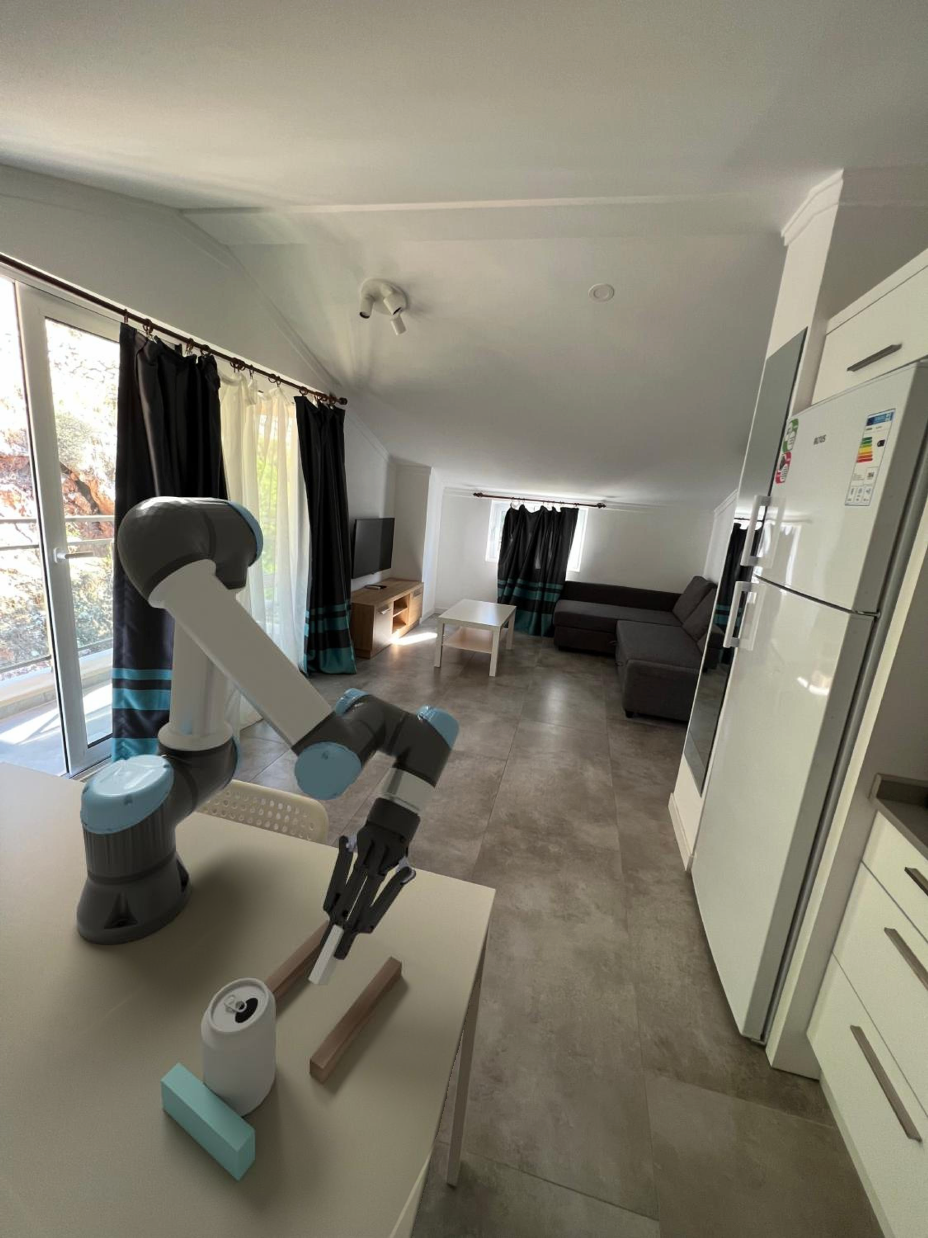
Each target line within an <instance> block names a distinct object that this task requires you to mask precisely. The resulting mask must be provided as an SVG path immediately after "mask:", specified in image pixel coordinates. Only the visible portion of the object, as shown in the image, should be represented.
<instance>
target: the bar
mask: <svg viewBox="0 0 928 1238" xmlns="http://www.w3.org/2000/svg"><path fill="white" fill-rule="evenodd" d="M160 1087H161V1101H162V1102H161V1103H162V1104H161V1105H162V1109H163V1110H164V1111H165V1112H166V1113H167V1114H168V1115H169V1116H170V1117H171V1118H172V1119H173V1120H174V1121H175V1122H177V1124H178V1125H179V1126H180V1127H182V1129H183V1130H185V1132H186V1133H188V1135H190V1137H192V1139H194V1140H195V1141H196V1142H197V1143H198V1144H199V1145H200V1146H201V1147H202V1148H203V1149H204V1150H205V1151H206V1152H207V1153H208V1154H209V1155H210V1156H212V1158H213V1159H214V1160H215V1161H216V1162H217V1163H218V1164H219V1165H220V1166H221V1167H222V1168H224V1169H225V1170H226V1171H227V1172H228V1173H229V1175H231V1177H233V1178H234V1179H235V1180H236V1181H237V1182H240V1180H241V1179H242V1178H243V1176H244V1175H245V1174H246V1172H247V1171H248V1170H249V1168H250V1167H251V1166H252V1164H253V1163H254V1162H255V1160H256V1130H255V1129H254V1128H253V1127H252V1126H251V1125H250V1124H249V1123H248V1122H246V1121H245V1120H244V1119H243V1118H242V1116H241V1117H240V1116H239V1115H238V1114H236V1113H235V1112H234V1111H233V1110H232V1109H231V1108H230V1107H229V1106H227V1105H226V1104H225V1103H224V1102H223V1101H222V1100H221V1099H220V1098H218V1097H217V1096H216V1095H215V1094H214V1093H213V1092H212V1091H211V1090H209V1089H208V1088H207V1087H206V1086H205V1085H204V1084H203V1082H201V1080H199V1079H198V1077H196V1076H195V1075H194V1074H193V1073H192V1072H190V1071H189V1069H187V1068H186V1067H185V1066H184V1065H183V1064H181V1063H180V1062H177V1063H176V1064H175V1065H174V1066H173V1067H172V1068H171V1069H170V1070H168V1072H167V1073H166V1074H165V1075H164V1076H163V1077H162V1078H161V1079H160Z"/></svg>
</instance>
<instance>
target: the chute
mask: <svg viewBox="0 0 928 1238" xmlns="http://www.w3.org/2000/svg"><path fill="white" fill-rule="evenodd" d="M329 922H330V920H328V919H327V920H325V921H324V923H322V925H320V927H319V928H317V929H316V931H314V933H313V934H311V935H310V936H309V937H308V938H307V940H305V941H304V942H303V943H302V944H301V945H300V946H299V947H298V948H297V949H296V950H295V951H294V952H293V953H292V954H291V955H290V956H289V957H288V958H287V959H286V960H285V961H284V962H283V963H282V964H281V965H280V966H279V967H278V968H277V969H276V970H274V972H272V974H271V975H269V977H268V978H267V979H265V980H264V981H263V983H265V985H266V986H267V988H268V989H269V990H270V991H271V993H272V994H273V996H274V999H275V1003H276V1002H277V1001H278V1000H279V999H280V998H281V997H282V996H283V994H284V993H286V991H287V990H288V989H289V988H291V986H292V985H293V984H294V983H295V982H296V981H297V980H298V979H299V978H300V977H301V975H303V974H304V973H305V972H306V970H307V969H309V967H310V966H311V965H312V964H313V963H314V962H315V961H317V960H318V958H319V956H320V954H321V952H322V949H321V948H320V947H319V945H320V941H321V939H322V937H323V935H324V933H325V931H326V929H327V927H328V925H329ZM402 970H403V963H402V962H401V961H400V960H398V959H396V958H395V957H393V956H391V955H390V956H389V958H388V959H387V960H386V961H385V963H384V964H383V965H382V967H381V968H380V969H379V970H378V971H377V973H376V974H375V976H373V978H372V979H371V980H370V982H369V983H368V984H367V985H366V987H364V990H362V992H361V993H360V994H359V995H358V997H357V998H356V1000H355V1001H354V1002H353V1003H352V1005H351V1006H350V1007H349V1008H348V1010H347V1011H346V1012H345V1013H344V1015H343V1016H342V1018H341V1019H340V1020H339V1021H338V1022H337V1024H336V1025H335V1026H334V1028H333V1029H332V1030H331V1031H330V1033H329V1034H328V1035H327V1037H326V1038H325V1039H324V1040H323V1042H322V1043H321V1044H320V1045H319V1046H318V1048H317V1050H316V1051H315V1052H314V1053H313V1054H312V1055H311V1057H310V1058H309V1074H310V1075H311V1076H312V1077H314V1078H315V1079H316V1080H317V1081H319V1082H320V1083H321V1084H323V1083H324V1081H326V1079H327V1078H328V1076H329V1075H330V1074H331V1072H332V1071H333V1070H334V1068H335V1066H336V1065H337V1064H338V1062H339V1061H340V1060H341V1058H342V1057H343V1056H344V1054H345V1053H346V1052H347V1050H348V1049H349V1048H350V1046H351V1045H352V1043H353V1042H354V1041H355V1039H356V1038H357V1036H359V1034H360V1032H361V1031H362V1029H363V1028H364V1026H366V1024H367V1023H368V1021H369V1020H370V1019H371V1018H372V1016H373V1015H374V1013H375V1012H376V1010H377V1009H378V1008H379V1006H380V1005H381V1003H382V1002H384V1001H383V1000H385V998H386V997H387V995H388V994H389V993H390V991H391V990H392V988H393V987H394V985H395V984H396V983H397V982H398V981H399V979H400V977H401V976H402Z"/></svg>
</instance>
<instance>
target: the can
mask: <svg viewBox="0 0 928 1238" xmlns="http://www.w3.org/2000/svg"><path fill="white" fill-rule="evenodd" d="M276 1009H277V1006H276V1002H275V999H274V996H273V994H272V993H271V991H270V990H269V989H268V988H267V986H266V985H265V983H264V981H262V980H260V979H259V978H253V977H245V978H243V977H242V978H239V979H237V980H234V981H231V982H229V983H227V984H226V985H224V986H223V987H221V988H220V990H219V991H218V992H216V993H215V994H214V996H213V997H212V999H211V1001H210V1002H209V1004H208V1007H207V1008H206V1011H205V1012H204V1013H203V1017H202V1020H201V1023H200V1032H201V1033H200V1034H201V1035H200V1036H201V1055H202V1056H201V1057H202V1081H203V1082H202V1083H203V1084H204V1085H205V1086H206V1087H207V1088H208V1089H209V1090H211V1091H212V1092H213V1093H214V1094H215V1095H216V1096H217V1097H218V1098H220V1099H221V1100H222V1101H223V1102H224V1103H225V1104H226V1105H227V1106H229V1107H230V1108H231V1109H232V1110H233V1111H234V1112H235V1113H236V1114H238V1115H239V1116H240V1117H241V1118H242V1117H243V1116H246V1115H248V1114H249V1113H251V1112H252V1111H253V1110H255V1109H256V1108H257V1107H259V1106H260V1105H261V1103H262V1102H263V1101H264V1099H266V1097H267V1096H268V1095H269V1093H270V1091H271V1088H272V1087H273V1084H274V1082H275V1076H276V1070H277V1069H276V1068H277V1067H276V1066H277V1060H276V1059H277V1055H276V1054H277V1051H276V1049H277V1047H276V1046H277V1045H276V1043H277V1039H276V1038H277V1037H276V1036H277V1035H276V1034H277V1033H276V1032H277V1030H276V1029H277V1027H276V1026H277V1025H276V1023H277V1021H276V1020H277V1018H276V1015H277V1013H276V1011H277V1010H276Z"/></svg>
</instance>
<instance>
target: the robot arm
mask: <svg viewBox="0 0 928 1238" xmlns="http://www.w3.org/2000/svg"><path fill="white" fill-rule="evenodd" d="M116 539H117V540H116V541H117V542H116V545H117V547H116V548H117V552H118V557H119V560H120V563H121V566H122V567H123V570H124V572H125V574H126V575H127V576H128V579H129V580H130V582H131V583H132V585H133V586H134V588H135V589H136V590H137V591H138V593H139V595H141V596H142V597H143V598H144V599H145V600H146V602H147V603H148V604H149V605H150V606H151V607H152V608H158V609H164V610H166V611H167V612H168V614H169V615H170V616H171V617H172V618H173V619H174V633H173V650H172V651H173V652H172V672H171V682H170V683H171V686H170V703H169V718H168V721H169V722H167V723H165V725H163V726H162V727H161V728H160V729H159V731H158V734H157V748H156V749H157V751H156V753H155V754H139V755H132V756H130V757H129V758H127V759H122V758H121V759H119V760H116V761H114V762H112V763H110V764H107V765H105V766H104V767H103V768H101V769H99V770H98V771H97V772H96V773H95V774H94V775H92V776H91V777H90V778H89V779H88V780H87V782H86V784H85V785H84V786H83V789H82V791H81V794H80V795H81V796H80V802H81V803H80V811H79V819H80V823H81V828H82V834H83V835H82V836H83V843H84V851H85V852H84V853H85V862H86V864H85V865H86V873H87V876H86V879H85V882H84V886H83V888H82V891H81V895H80V898H79V902H78V904H77V906H76V907H77V908H76V915H75V916H76V924H77V929H78V932H79V935H81V936H82V937H83V938H84V939H85V940H86V941H88V942H92V943H95V944H99V945H119V944H122V943H123V944H124V943H128V942H132V941H135V940H138V939H141V938H144V937H146V936H148V935H151V934H152V933H155V932H156V931H158V930H160V929H162V928H163V927H165V926H166V925H168V924H169V923H171V922H172V920H174V919H175V918H176V917H177V916H178V915H179V914H180V913H181V912H182V911H183V910H184V908H185V906H186V905H187V904H188V901H189V899H190V896H191V877H190V874H189V871H188V870H187V868H186V866H185V864H184V862H183V860H182V858H181V856H180V854H179V852H178V851H177V838H176V837H177V836H176V828H177V826H178V825H180V823H182V822H183V821H184V820H186V819H187V817H189V816H190V815H192V814H193V813H194V812H196V811H197V810H198V809H199V808H201V807H202V806H203V805H204V804H205V803H207V802H209V800H211V799H212V798H213V797H215V796H216V795H218V794H219V793H220V792H222V791H223V790H224V789H225V788H227V786H228V785H229V784H230V783H231V782H232V781H233V780H234V779H235V777H236V776H237V775H238V773H239V771H240V770H241V767H242V763H243V759H244V758H243V757H244V756H243V755H244V753H243V748H242V745H241V743H240V742H238V740H237V739H238V737H237V735H236V734H235V733H234V732H233V728H232V725H231V724H229V723H228V722H227V721H226V720H225V716H226V705H227V697H228V696H227V695H228V693H227V692H228V683H229V682H230V683H231V684H232V686H234V687H235V689H236V690H237V691H238V692H239V693H240V694H241V696H242V697H243V698H244V699H245V700H246V701H247V702H248V703H249V704H250V705H251V706H252V708H253V709H254V710H255V711H256V712H257V714H258V715H259V716H260V717H261V718H262V719H263V720H264V722H265V723H266V724H268V726H269V727H271V729H272V730H273V731H274V732H275V733H276V735H277V736H278V737H279V738H280V739H281V740H282V741H283V742H284V744H285V745H286V746H287V747H288V748H289V749H290V750H291V751H292V753H293V754H294V756H295V757H297V759H296V761H295V764H294V768H293V769H294V770H293V771H294V772H293V773H294V774H293V775H294V776H295V779H296V784H297V786H298V788H300V790H301V791H302V792H303V794H305V795H307V796H308V797H311V798H313V799H314V800H319V801H331V800H334V799H336V798H338V797H340V796H342V795H343V794H344V793H345V792H346V791H347V789H348V788H349V787H350V786H351V785H353V784H355V782H356V781H357V780H358V778H359V776H361V773H362V772H363V770H364V769H365V768H366V766H367V765H368V764H369V762H370V761H371V759H373V757H374V756H375V755H376V753H377V752H379V753H381V754H383V755H385V756H387V757H391V758H394V762H393V763H392V765H391V768H390V769H389V772H388V773H387V775H386V777H385V778H384V782H383V783H382V786H381V787H380V789H379V793H380V796H379V797H377V798H375V800H374V802H373V803H372V806H371V808H370V810H369V812H368V814H367V817H366V820H365V823H364V825H363V826H362V827H361V828H359V829H358V831H357V833H356V834H352V835H350V836H346V835H341V836H340V835H339V838H338V854H337V857H336V860H335V863H334V867H333V871H332V873H331V877H330V881H329V885H328V888H327V891H326V893H325V894H326V895H325V897H324V902H323V904H322V910H323V912H326V914H327V916H328V917H329V921H330V922H329V925H328V927H327V929H326V931H325V933H324V935H323V937H322V939H321V941H320V945H319V947H320V948H321V949H322V952H321V954H320V956H319V957H318V958H317V959H316V963H315V964H314V967H313V968H312V971H311V973H310V975H309V977H308V981H310V982H311V983H313V984H314V985H316V986H328V984H329V983H330V980H331V979H332V976H333V974H334V971H335V969H336V968H337V966H338V963H339V960H340V961H344V960H345V959H346V958H347V956H348V955H349V952H350V951H351V948H352V946H353V943H354V941H355V939H356V937H357V936H358V935H359V934H364V935H365V934H367V935H371V934H372V933H373V932H374V930H375V929H376V927H378V924H379V923H380V922H381V920H382V919H383V918H384V916H385V914H387V911H388V910H389V909H390V907H391V906H392V904H393V903H394V902H395V900H396V899H397V897H398V896H399V894H400V892H401V891H402V890H403V889H404V887H405V886H406V885H407V884H409V883H410V882H411V881H412V880H414V879H415V878H416V876H417V871H416V869H414V868H412V867H411V864H410V862H409V860H408V857H409V849H410V844H411V842H412V841H413V839H414V837H415V834H416V833H417V831H418V828H419V826H420V823H421V816H420V814H424V813H425V812H426V810H427V807H428V805H429V803H430V801H431V797H432V796H433V794H434V791H435V788H436V786H437V784H438V782H439V780H440V777H441V775H442V774H443V770H444V768H445V766H446V764H447V762H448V760H449V758H450V756H451V754H452V751H453V748H454V745H455V744H456V740H457V738H458V735H459V733H460V724H459V722H458V720H457V719H456V718H455V717H454V716H453V715H451V714H450V713H449V712H447V711H446V710H445V711H444V710H443V709H441V708H438V707H434V706H432V705H423V706H421V707H420V709H419V710H418V711H417V712H416V713H414V712H410V711H408V710H405V709H402V708H401V707H399V706H396V705H395V704H392V703H390V702H389V701H386V700H384V699H382V698H381V697H378V696H376V695H374V694H372V693H369V692H365V691H363V690H360V689H358V688H354V687H352V688H349V689H347V690H345V692H344V693H343V694H342V696H341V698H339V699H338V701H337V703H336V705H335V706H334V708H333V707H332V706H331V705H330V704H329V703H328V702H327V701H326V699H324V697H323V696H322V695H321V694H320V693H319V692H318V691H317V689H315V687H314V686H313V685H312V683H311V682H309V680H308V679H307V678H306V677H305V676H304V674H303V673H302V672H301V671H300V670H299V668H298V667H296V665H295V664H294V663H293V662H292V661H291V660H290V658H288V656H287V655H286V654H285V653H284V652H283V650H281V648H280V647H279V646H278V645H277V644H276V642H275V641H274V640H273V639H272V638H271V637H270V636H269V635H268V634H267V632H266V631H265V630H264V628H262V626H261V625H260V624H259V623H258V622H257V621H256V620H255V619H254V617H252V615H251V614H250V613H249V612H248V611H247V610H246V609H245V607H244V606H243V605H242V604H241V603H240V601H239V600H238V599H237V598H236V596H237V595H238V594H239V593H240V592H242V591H243V590H244V589H246V587H247V578H248V569H249V568H251V567H252V566H253V565H254V564H255V563H256V562H257V561H258V560H259V559H260V558H261V556H262V554H263V553H262V552H263V551H264V550H263V549H264V536H263V531H262V528H261V526H260V523H259V521H258V520H257V519H256V518H255V517H254V515H253V514H252V512H251V511H250V510H248V509H247V508H246V507H245V506H243V505H242V504H240V503H238V502H236V501H231V500H226V499H220V498H213V497H182V496H181V497H177V496H168V495H167V496H155V497H150V498H148V499H144V500H143V501H141V502H139V503H138V504H135V505H134V506H133V507H132V508H131V509H129V511H127V513H126V514H125V515H124V517H123V518H122V520H121V523H120V525H119V528H118V531H117V538H116ZM228 681H229V682H228ZM355 851H357V853H356V854H357V857H356V859H355V861H354V863H353V858H354V852H355ZM352 863H353V866H352ZM351 867H352V871H351V873H350V870H351ZM393 869H395V874H394V875H392V876H391V878H390V879H389V880H388V882H387V883H386V884H385V886H384V888H383V889H382V891H381V892H380V893H379V894H378V891H379V890H380V888H381V885H382V883H384V881H385V880H386V878H387V875H388V873H389V872H390V871H392V870H393ZM349 873H350V874H349ZM349 875H350V876H349ZM377 894H378V896H377ZM376 897H377V898H376ZM375 898H376V899H375Z"/></svg>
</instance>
